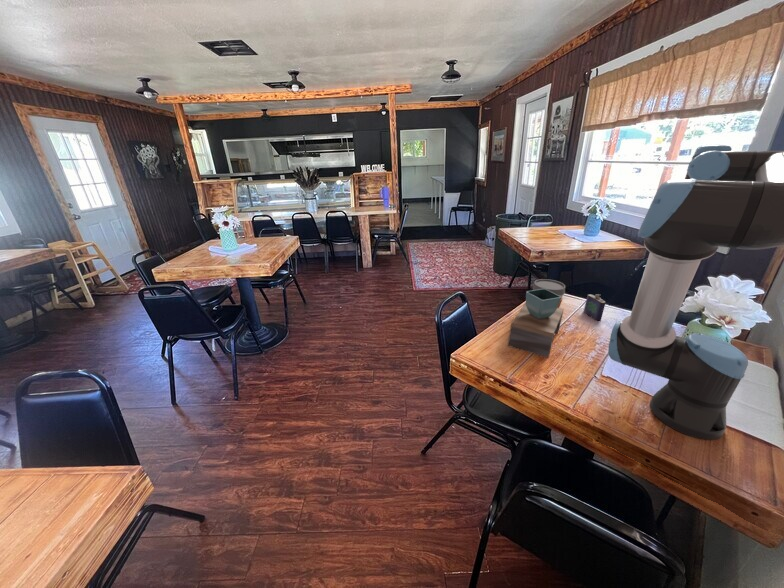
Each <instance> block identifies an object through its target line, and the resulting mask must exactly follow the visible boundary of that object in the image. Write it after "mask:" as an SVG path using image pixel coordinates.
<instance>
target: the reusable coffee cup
mask: <svg viewBox="0 0 784 588" xmlns="http://www.w3.org/2000/svg"><path fill="white" fill-rule="evenodd" d="M538 289H547V290H549V291H550V292H553V293H555V294H557V295H559V296H561V297H562V298H561V300H560V303H559V305H558V308H561V305H562V302H563V296H564V295H565V293H566V284H564V283H563V282H562V281H559V280H555V279H548V278H547V279H545V278H540V279H536V280H535V281H534V283H533V286H532V290H538Z"/></svg>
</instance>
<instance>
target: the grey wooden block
mask: <svg viewBox="0 0 784 588" xmlns="http://www.w3.org/2000/svg"><path fill="white" fill-rule="evenodd" d="M563 315H564V308H561V307H559V308H557V309H556V311H555V312H554V313H553V314H552V315H551V316H550V317H547V318H542V319H538V318H536V317H535V316H533V315H531V314H530V313H529V311H528V309H527V306H526V302H525V303H524V304H523V306H522V307H521V309H520V310H519V312H518V313H517V314H516V316H515V317H514V319H513V320H512V321H511V325H510V331H509V336H508V343H507V346H508V347H510V348H515V349H517V350H521V351H524V352H527V353H531V354H534V355H538V356H541V357H545V358H547V359H548V358H549V357H550V354H551V350H552V345H553V341H554V336H555V335H558V334H559V331H560V327H561V322H562V320H563V319H562V318H563Z"/></svg>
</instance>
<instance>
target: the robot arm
mask: <svg viewBox="0 0 784 588" xmlns="http://www.w3.org/2000/svg"><path fill="white" fill-rule="evenodd" d="M637 236H638V237H639V238H642V239H644V241H643V246H644V248H645V249H646V250H647V251H648V252H649V254H648V258H647V261H646V262H645V263H646V264H645V266H644V267H645V268H644V271H643V274H642V277H641V280H640V283H639V287H638V289H637V292H636V293H637V294H636V296H635V299H634V303H633V307H632V309H631V313H630V315H629V316H626V317H625V318H624V319H623V320H618V321H616V322H615V323H614V324H613V327H612V329H611V333H610V338H609V342H608V350H607V351H608V356H609V358H610V359H611V360H613V361H614V362H617V363H619V364H621V365H623V366H628V367H630V368H633V369H636V370H639V371H643V372H646V373H649V374H652V375H654V376H658V377H661V378H664V379H667V380H668V381H667V383H666V384H665V385H663V387H661V388H660V389H659V390H658V391H656V393H654V394H653V396H652V397H651V400H650V403H649V408H650V410H651V412H652V414H653V415H655V417H656V418H657V419H658V420H660V421H661V422H662V423H663V424H665V425H666V426H667V427H670V428H671V429H673V430H675V431H677V432H678V433H681V434H683V435H685V436H688V437H691V438H692V437H693V438H695V439H696V438H697V439H700V440H708V441H709V440H717V439H720V438H721V437H722V436H723V435H724V433H725V431H726V430H727V406H728V404H729V401H730V400H731V398H732V397H733V395H734V392H735V391H736V389H737V388H738V386H739V384H740V382H741V380H742V379H744V377H745V373H746V371H747V369H748V366H749V360H748V357H747V355H745V353H744V352H743V351H741V350H740V349H739V348H737V347H736V346H734V345H732V344H731V343H729V342H727V341H725V340H723V339H720V338H717V337H716V336H712V335H708V334H704V333H695V332H694V333H690V334H688V335H687V336H686V337H681V336H678V335H677V333H676V330H675V329H674V327H673V325H674V323H675V321H676V317H678V315H679V312H680V310H681V307H682V305H683V302H684V300H685V298H686V295H687V293H688V291H689V289H690V286H691V284H692V281H693V279H694V277H695V275H696V272H697V271H698V269H699V266H700V264H701V261H702V260H706V259H709V258H710V257H712V256H713V255H715V254H716V252H717V251H718V248H719V247H721V248H730V249H741V250H765V249H771V248H772V249H773V248H778V247H779V248H780V247H783V246H784V150H732V147H731V146H729V145H723V144H722V145H720V144H719V145H718V144H713V145H712V144H711V145H707V144H706V145H701V146H700V145H699V146H698V147H697V148H696V149H695V152H694V154H693V155H692V157H691V161H690V162H689V163H688V166H687V169H686V174H685V178H684V179H670V180H669V179H668V180H666V181H664V182H662V183H661V184H660V185H659V186H658V188H657V189H656V193H655V195H654V197H653V199H652V201H651V203H650V206H649V208H648V210H647V212H646V214H645V216H644V219H643V221H642V223H641V225H640V227H639V229H638V232H637Z"/></svg>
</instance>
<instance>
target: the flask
mask: <svg viewBox="0 0 784 588" xmlns="http://www.w3.org/2000/svg"><path fill="white" fill-rule="evenodd" d="M600 296H601V294H599V293H598V294H595V295H594V294H587V296H586V300H585V301H586V302H585V304H584V308H583V312H582V313H583V314H584V315H585V316H588V317H589V318H591V319H592V320H594V321H596V322H598V321H600V322H601V321H602V317H603V314H604V310H605V307H606V304H607V303H606V301H605V300H604V299H602V298H601V297H600Z"/></svg>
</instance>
